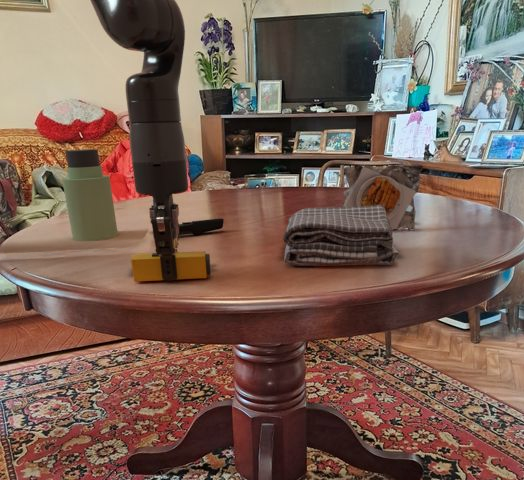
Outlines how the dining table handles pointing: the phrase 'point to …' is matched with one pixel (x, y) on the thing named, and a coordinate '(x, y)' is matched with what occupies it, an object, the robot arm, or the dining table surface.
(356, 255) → the towel
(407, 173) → the meal
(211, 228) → the electric trimmer
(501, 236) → the dining table surface
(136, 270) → the bar
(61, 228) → the dining table surface
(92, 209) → the bottle
